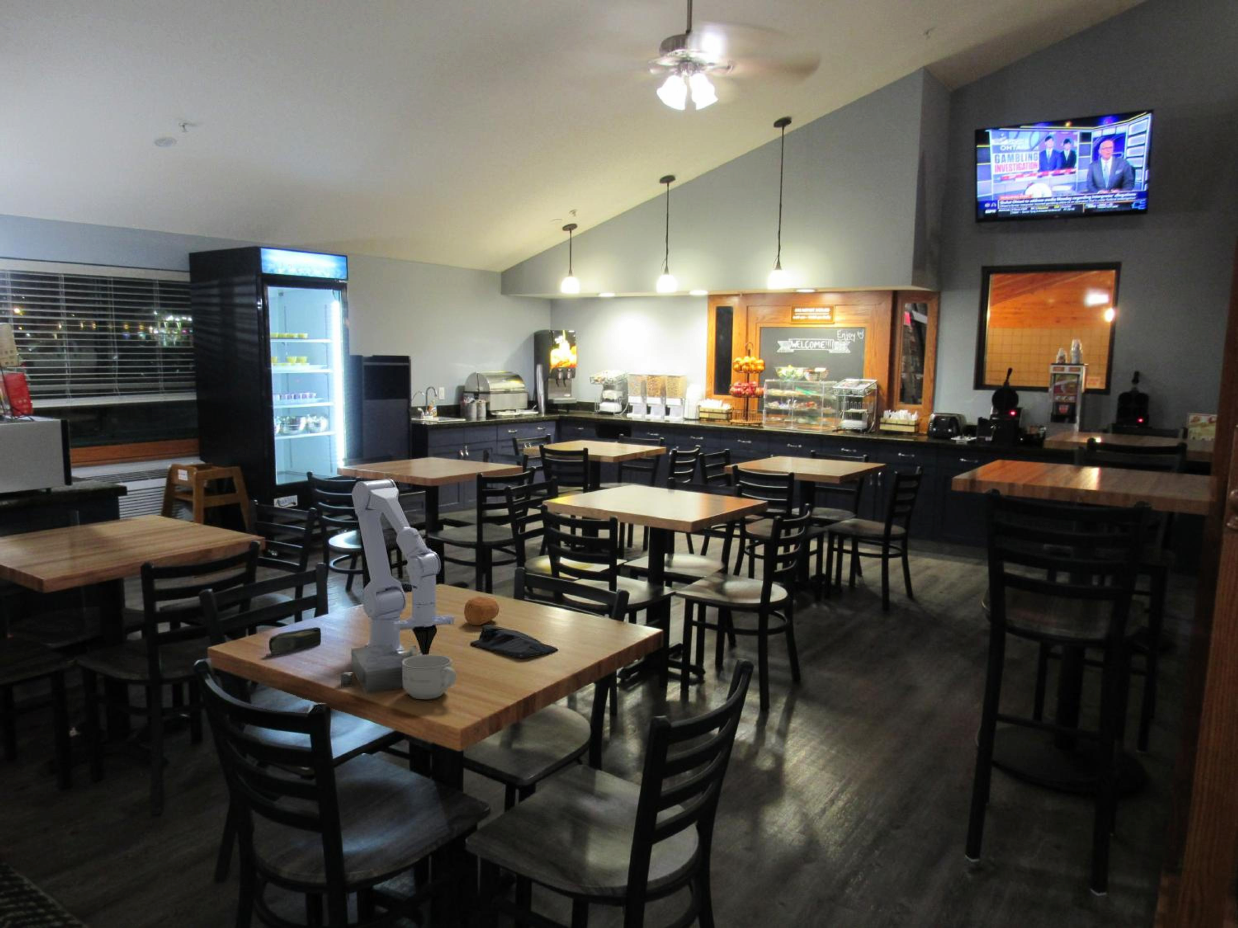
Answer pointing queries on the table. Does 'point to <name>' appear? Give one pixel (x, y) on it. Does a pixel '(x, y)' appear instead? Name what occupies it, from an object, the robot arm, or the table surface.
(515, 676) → the table surface
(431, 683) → the teacup
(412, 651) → the knob
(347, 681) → the black dial
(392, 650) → the rack
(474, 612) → the potato
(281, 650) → the dark green rounded block
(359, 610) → the table surface
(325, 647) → the table surface
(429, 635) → the robot arm
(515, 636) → the black cloth
